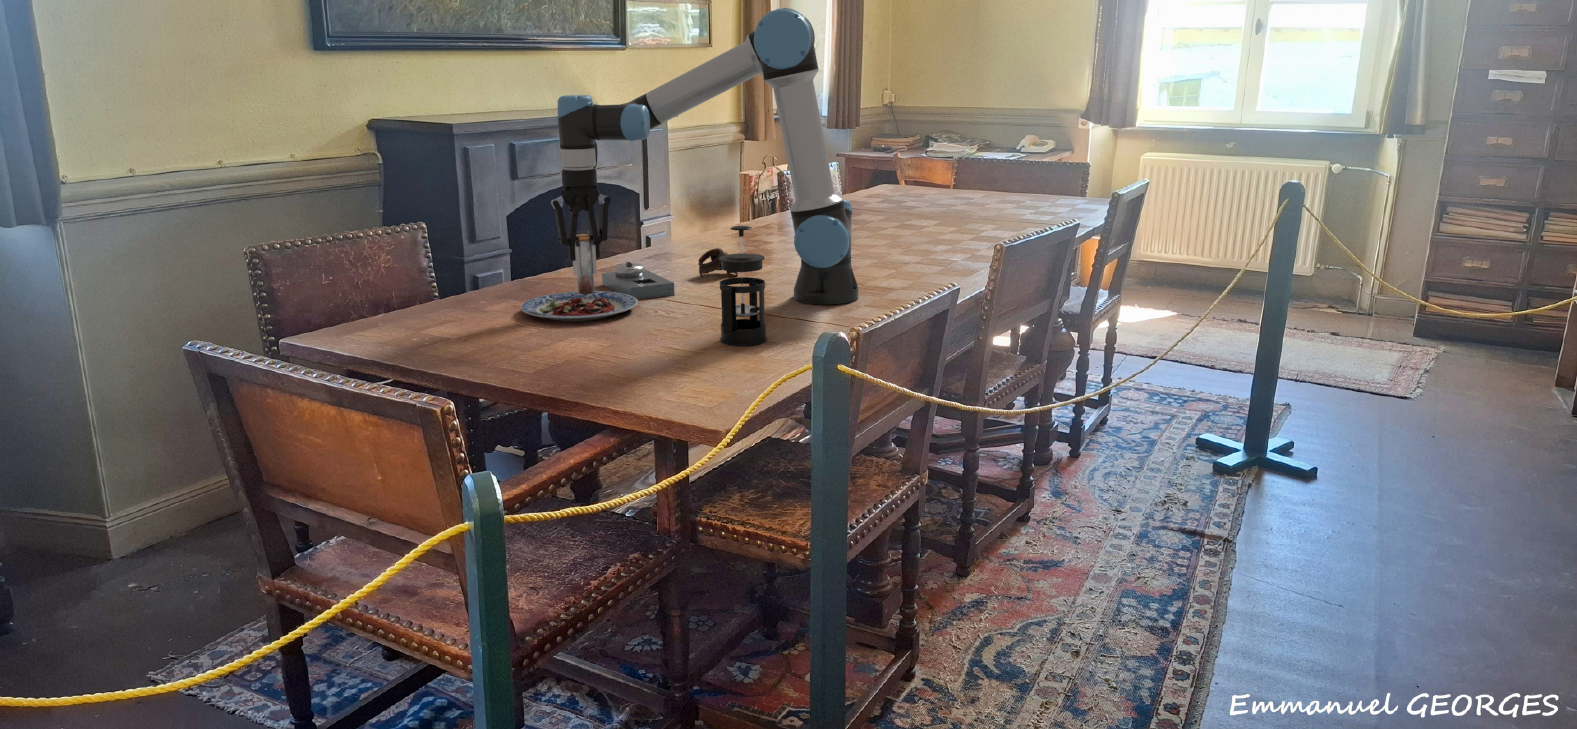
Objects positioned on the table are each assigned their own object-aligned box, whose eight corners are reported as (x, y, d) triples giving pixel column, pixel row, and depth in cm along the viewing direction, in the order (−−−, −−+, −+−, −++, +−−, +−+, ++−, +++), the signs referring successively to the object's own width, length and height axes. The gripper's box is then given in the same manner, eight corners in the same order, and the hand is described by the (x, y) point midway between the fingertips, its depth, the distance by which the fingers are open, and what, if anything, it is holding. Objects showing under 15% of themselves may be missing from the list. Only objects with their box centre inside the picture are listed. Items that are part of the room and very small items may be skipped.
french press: (736, 331, 224) (733, 220, 218) (776, 336, 220) (775, 223, 214) (707, 345, 214) (703, 229, 208) (748, 350, 210) (746, 232, 204)
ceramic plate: (655, 303, 251) (655, 290, 251) (608, 330, 228) (608, 316, 227) (555, 297, 258) (554, 285, 257) (499, 323, 234) (498, 309, 233)
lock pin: (596, 293, 244) (592, 235, 240) (581, 294, 242) (577, 237, 239) (591, 290, 247) (587, 233, 243) (576, 292, 245) (572, 234, 242)
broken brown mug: (742, 280, 276) (728, 255, 272) (709, 297, 277) (694, 272, 273) (737, 260, 286) (723, 235, 282) (705, 276, 287) (691, 251, 283)
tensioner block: (674, 295, 258) (673, 270, 257) (630, 300, 253) (629, 275, 252) (644, 280, 275) (642, 256, 273) (602, 284, 270) (601, 261, 268)
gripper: (608, 164, 243) (613, 267, 250) (537, 168, 236) (545, 274, 243) (619, 167, 237) (625, 273, 244) (547, 171, 230) (555, 280, 236)
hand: (585, 273), depth 243 cm, fingers closed on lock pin, 3 cm apart
